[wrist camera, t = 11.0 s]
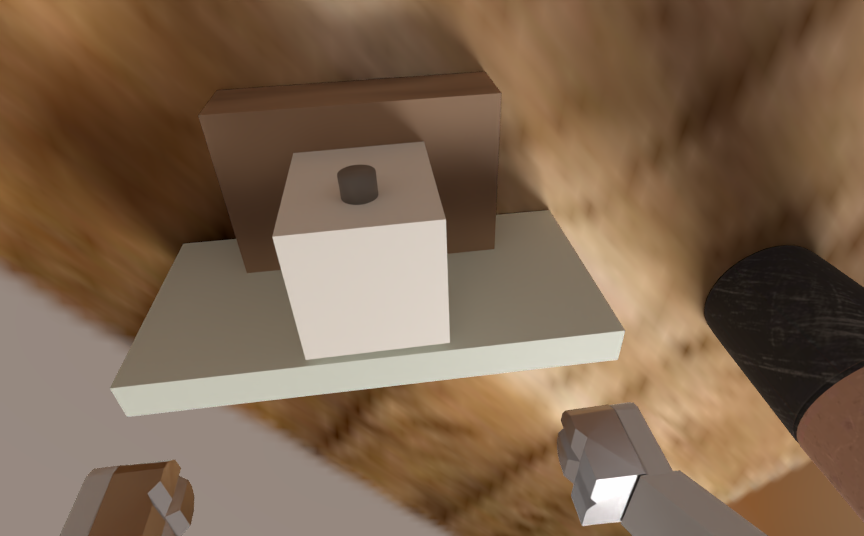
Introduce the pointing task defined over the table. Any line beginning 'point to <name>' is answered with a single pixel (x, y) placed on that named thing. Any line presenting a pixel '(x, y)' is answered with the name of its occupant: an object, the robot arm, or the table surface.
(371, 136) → the cleat ledge
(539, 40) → the table surface
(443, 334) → the cabinet block
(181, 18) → the table surface
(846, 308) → the travel mug
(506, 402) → the table surface
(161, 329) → the wall board
